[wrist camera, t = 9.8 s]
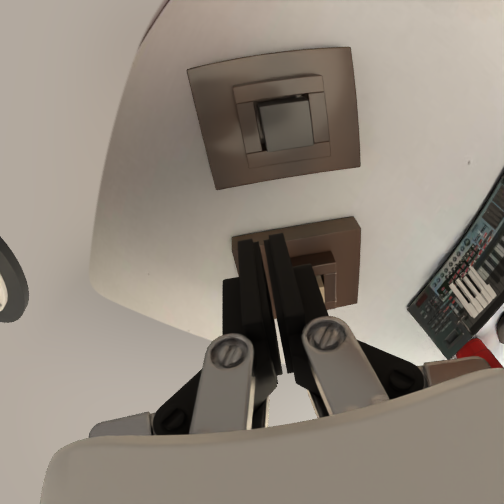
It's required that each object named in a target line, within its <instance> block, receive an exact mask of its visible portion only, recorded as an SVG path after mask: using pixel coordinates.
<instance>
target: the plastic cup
mask: <svg viewBox="0 0 504 504" xmlns="http://www.w3.org/2000/svg"><path fill="white" fill-rule="evenodd" d="M456 356H457V358H464V357H471V356H479V357H481V358H484V359H485V360H486V361H487V362H488V363H489V364H490V366H491V368H503V366H502V365H501V364H500V363H499V361H498V360H497V359H496V358H495V356H494V355H493V354H492V353H491V351H490V350H489V349H488V348H487V347H486V346H485V345H484V344H483V342H482V341H481V340H480V339H478V338H475V339H472V340H470V341H468V342H467V343H466V344H465V345H464V346H463V347H462V348H461V349H460V350H459V351H458V352H457V354H456Z"/></svg>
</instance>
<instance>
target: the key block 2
mask: <svg viewBox="0 0 504 504" xmlns="http://www.w3.org/2000/svg"><path fill="white" fill-rule="evenodd" d="M282 232H283V234H284V238H285V241H286V245H287V248H288V252H289V256H290V259H291V263H292V267H294V266H299V265H304V264H309V263H310V264H311V265H312V268H313V271H314V274H315V276H317V275H320V276H321V279H322V282H323V285H324V296H325V306H326V309H327V310H329V309H334V308H337V307H342V306H347V305H351V304H356V303H357V299H358V285H359V268H360V244H361V228H360V226H359V224H358V223H357V221H356V219H355V218H354V217H347V218H341V219H335V220H329V221H323V222H317V223H311V224H305V225H299V226H293V227H287V228H282V229H276V230H270V231H264V232H259V233H253V234H247V235H242V236H236V237H232V253H233V257H234V260H235V264H236V268H237V271H238V275H239V262H238V241H241V240H246V239H251V238H252V239H253V242H257V241H259V245H260V249H261V254H262V259H263V264H264V268H265V273H266V278H267V283H268V288H269V292H270V298H271V303H272V309H273V316H274V319H276V318H277V316H276V311H275V305H274V299H273V293H272V287H271V281H270V276H269V270H268V264H267V258H266V253H265V247H264V241H263V240H267V239H269V236H268V235H272V234H277V233H282Z"/></svg>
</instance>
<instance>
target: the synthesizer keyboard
mask: <svg viewBox="0 0 504 504" xmlns="http://www.w3.org/2000/svg"><path fill="white" fill-rule="evenodd" d="M503 303H504V173H503V175H502V177H501V179H500V180H499V182H498V184H497V186H496V187H495V189H494V191H493V192H492V194H491V196H490V197H489V199H488V201H487V202H486V204H485V205H484V207H483V209H482V210H481V212H480V213H479V215H478V216H477V218H476V219H475V221H474V222H473V224H472V225H471V227H470V228H469V230H468V231H467V233H466V234H465V236H464V237H463V238H462V240H461V241H460V243H459V244H458V246H457V247H456V248H455V250H454V251H453V252H452V254H451V255H450V256H449V258H448V259H447V261H446V262H445V263H444V264H443V266H442V267H441V268H440V270H439V271H438V272H437V274H436V275H435V276H434V277H433V279H432V280H431V281H430V282H429V284H428V285H427V286H426V287H425V288H424V290H423V291H422V292H421V293H420V295H419V296H418V297H417V298H416V299H415V300H414V302H413V303H412V304H411V305H410V306H409V307H408V309H407V310H408V311H409V312H410V314H411V315H412V316H413V317H414V318H415V320H416V321H417V322H418V323H419V325H420V326H421V327H422V328H423V329H424V331H425V332H426V333H427V334H428V336H429V337H430V338H431V339H432V341H433V342H434V343H435V344H436V346H437V347H438V348H439V349H440V351H441V352H442V353H443V355H444V356H445V357H446V358H447V360H450V359H451V358H452V357H453V356H454V355H455V354H456V353H457V352H458V351H459V350H460V349H461V348H462V347H463V346H464V345H465V344H466V343H467V342H468V341H469V340H470V339H471V338H472V337H473V336H474V335H475V334H476V333H477V332H478V331H479V330H480V329H481V328H482V327H483V326H484V325H485V324H486V322H487V321H488V320H489V319H490V318H491V317H492V316H493V315H494V314H495V312H496V311H497V310H498V309H499V308H500V307H501V306H502V304H503Z"/></svg>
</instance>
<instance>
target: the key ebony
mask: <svg viewBox="0 0 504 504" xmlns="http://www.w3.org/2000/svg"><path fill="white" fill-rule="evenodd" d="M258 109H259V114H260V120H261V125H262V131H263V136H264V142H265V147H266V150H267V152H274V151H280V150H287V149H293V148H300V147H307V146H314V138H313V129H312V121H311V113H310V105H309V100H307V99H306V98H304V97H296V98H288V99H281V100H274V101H268V102H261V103H258Z"/></svg>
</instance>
